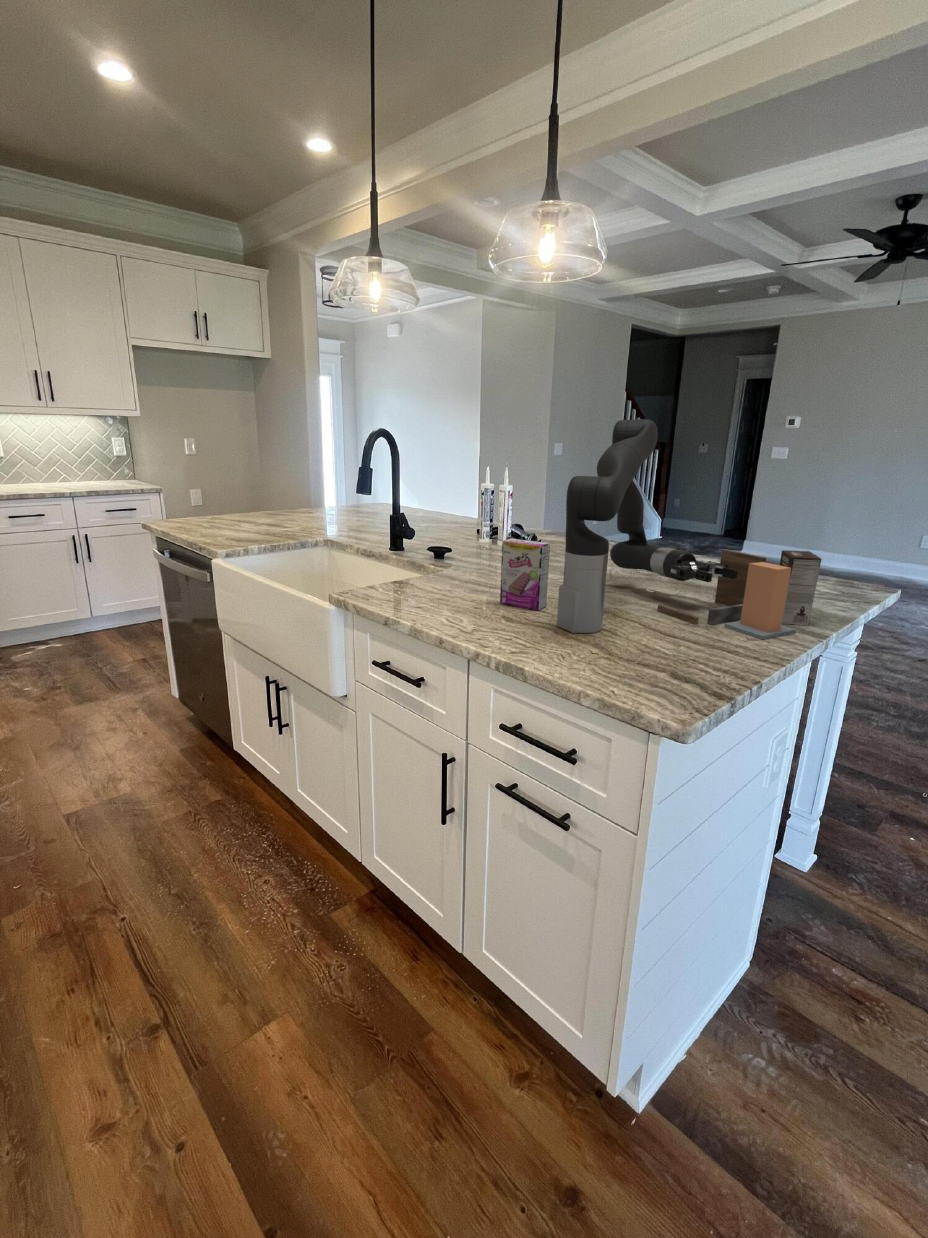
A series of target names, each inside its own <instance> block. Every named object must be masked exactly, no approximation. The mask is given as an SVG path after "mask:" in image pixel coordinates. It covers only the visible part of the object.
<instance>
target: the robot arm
mask: <svg viewBox="0 0 928 1238" xmlns="http://www.w3.org/2000/svg"><path fill="white" fill-rule="evenodd" d="M658 434H659V432H658V426H657V425H656V422H654V421H653V420H652V419H647V418H645V419H644V418H643V419H642V418H641V419H621V420H617V422H615V425H614V427H613V430H612V439H611V441H612V442H611V445H610V446H608V447H607V449H606V450H605V451H604V452H603V453H602V455H601V456H600V458H599V460H598V461H597V465H596V474H597V475H596V476H592V475H591V476H590V475H575V476H573V477H572V478H571V479H570V481H569V483H568V485H567V489H566V499H565V500H566V504H565V509H566V510H565V511H566V512H565V515H566V516H565V517H566V518H565V519H566V520H565V548H564V549H565V551H564V552H565V553H564V564H563V567H564V568H563V579H562V582H563V583H562V584H560V585H559V587H558V601H557V619H556V627H559V628H561V629H563V630H566V631H568V632H570V633H572V634H578V633H581V634H590V633H591V634H593V633H598V632H600V631H601V630H602V628H603V619H604V606H605V596H606V585H607V584H606V583H607V571H608V564H609V563H608V561H609V557H610V559H611V561H612V563H613V564H615V565H616V567H619V568H622V569H626V570H628V569H629V570H644V571H647V572H651V573H654V574H657V575H659V576H661V577H666V578H669V579H672V580H676V581H680V582H686V581H689V580H693V581H696V580H698V581H701V582H705V583H712V579H713V578H714V577H715V576H716V577H718V576H721V577H727V578H731V579H736V578H737V570H734V569H730V568H728V567H729V565H726V564H720V562H715V561H711V560H709V561H707V562H706V561H704V560H696V557H695V555H694V554H693V553H691V552H689V551H686V550H681V549H676V548H672V547H662V546H657V545H653V544H652V545H651V544H648V540H647V537H646V535H647V534H646V532H645V527H644V508H645V507H644V498H643V496H642V494H641V492H640V490H639V488H638V486H637V485H636V482H635V481H634V479H635V477H636V476H637V474H638V472H639V471H640V468H641V466H642V465H643V463H645V461H646V460H647V459H648V458H649V457H650V456H651V455H652V454H653V452H654V451H655V449H656V446H657V442H658V437H659V435H658ZM615 516H616V529H617V531H618V532H619V533H621V534H626V535H628V540H624V541H620V542H617V543H615V544H613V546H612V547H611V548H610V542H609V540H608V538H606V537H604V536H601V535H599V534H597V533H596V532H594V531H593V530H591V529H590V528H589V527H587V525H586V523H585V521H592V522H609V521H611V520H613V519H614V518H615ZM609 550H610V551H609Z"/></svg>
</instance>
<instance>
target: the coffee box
mask: <svg viewBox="0 0 928 1238" xmlns="http://www.w3.org/2000/svg"><path fill="white" fill-rule="evenodd" d="M822 559H823V558H821V557H820V556H818V555H816V554H814V553H813V552H811V551H810V550H807V551H806V550H788V549H787V550H784V549H783V550H781V554H780V560H779V565H780V566H785V567H789V568H791V572H790V578H789V583H788V589H787V595H786V600H785V606H784V612H783V618H782V623H781V625H791V624H794V625H793V626H807V627H808V626H809V625H810V619H811V615H812V609H813V604H814V599H815V594H816V590H817V583H818V578H819V575H820V574H819V573H820V568H821V565H822V564H821V563H822Z"/></svg>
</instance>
